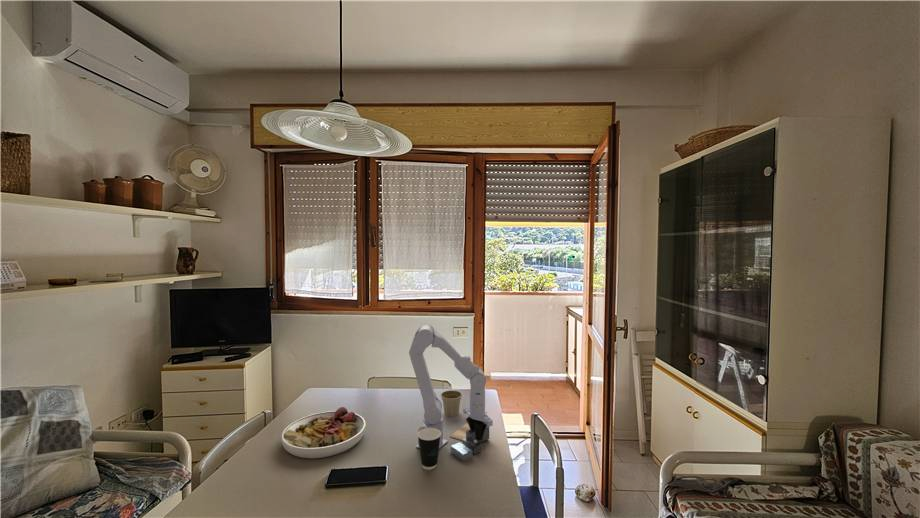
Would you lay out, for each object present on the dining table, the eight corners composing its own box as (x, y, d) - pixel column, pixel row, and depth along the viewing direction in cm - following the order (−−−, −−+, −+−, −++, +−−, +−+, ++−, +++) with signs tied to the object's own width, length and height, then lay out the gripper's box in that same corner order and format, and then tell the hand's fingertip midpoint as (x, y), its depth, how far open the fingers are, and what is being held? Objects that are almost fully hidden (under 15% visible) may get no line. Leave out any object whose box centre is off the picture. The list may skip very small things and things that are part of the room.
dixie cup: (424, 456, 133) (424, 425, 133) (445, 462, 130) (445, 430, 130) (413, 469, 126) (412, 436, 125) (434, 474, 123) (434, 441, 122)
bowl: (341, 467, 127) (340, 444, 127) (262, 457, 133) (262, 435, 133) (378, 426, 156) (378, 407, 156) (312, 419, 163) (312, 401, 162)
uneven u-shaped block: (485, 436, 146) (485, 423, 146) (497, 443, 141) (497, 430, 141) (462, 445, 139) (462, 432, 139) (474, 453, 134) (474, 440, 134)
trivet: (470, 443, 142) (470, 442, 142) (449, 437, 147) (449, 436, 147) (486, 429, 153) (486, 428, 153) (466, 423, 158) (466, 422, 158)
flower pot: (453, 420, 161) (453, 400, 160) (436, 414, 166) (436, 395, 166) (466, 412, 168) (466, 393, 168) (449, 407, 174) (449, 388, 174)
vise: (470, 444, 142) (470, 434, 141) (483, 452, 136) (483, 442, 136) (450, 452, 136) (450, 443, 136) (463, 461, 130) (463, 451, 130)
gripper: (498, 405, 139) (498, 442, 139) (472, 393, 150) (472, 427, 150) (484, 411, 134) (484, 448, 135) (458, 398, 145) (458, 433, 146)
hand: (477, 438), depth 142 cm, fingers closed on uneven u-shaped block, 2 cm apart
